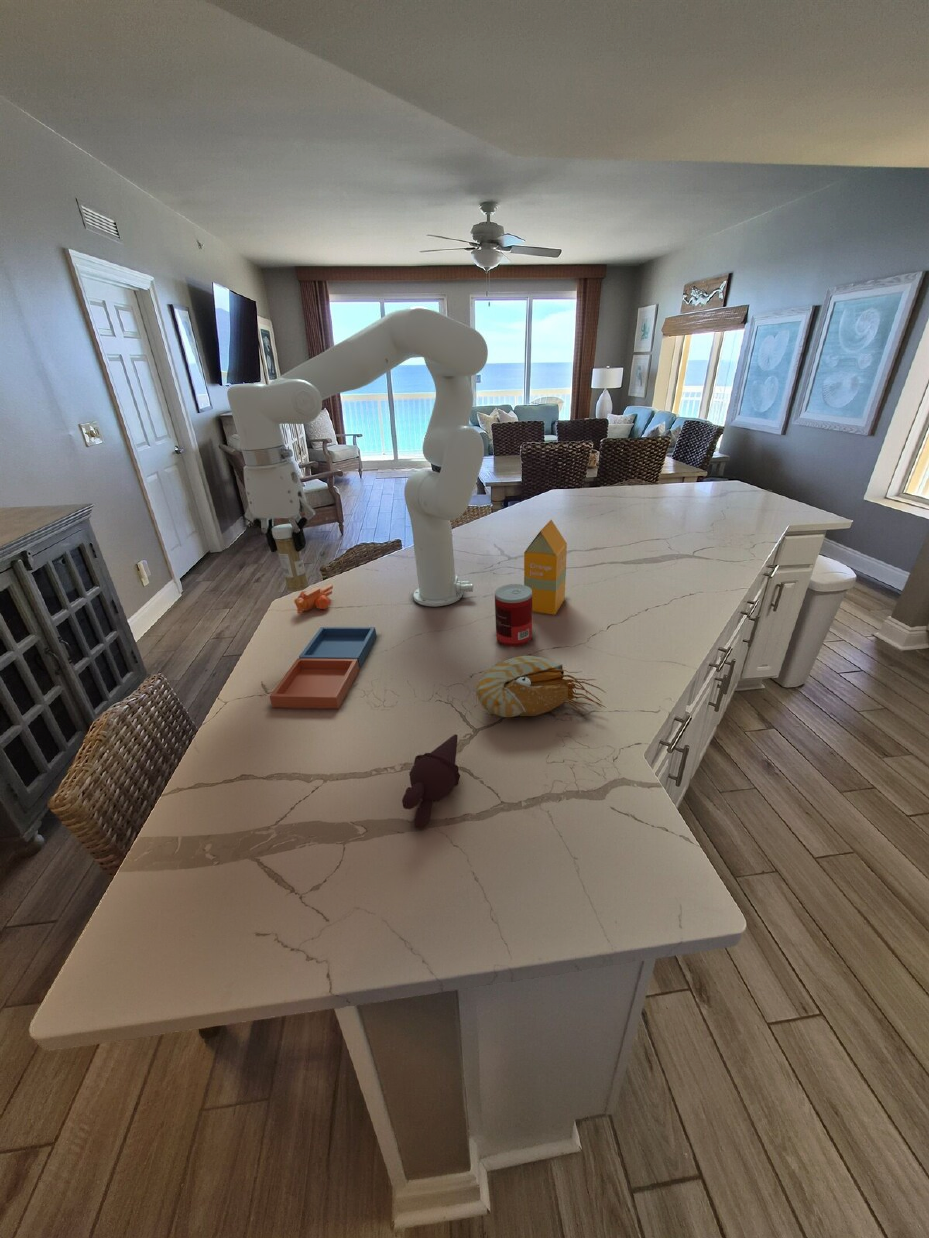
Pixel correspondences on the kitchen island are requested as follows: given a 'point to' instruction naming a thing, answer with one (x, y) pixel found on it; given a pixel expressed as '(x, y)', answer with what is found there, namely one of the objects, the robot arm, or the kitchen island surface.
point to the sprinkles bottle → (290, 558)
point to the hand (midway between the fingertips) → (288, 548)
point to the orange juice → (546, 569)
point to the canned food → (513, 614)
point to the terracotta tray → (315, 683)
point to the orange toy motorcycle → (314, 598)
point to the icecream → (432, 780)
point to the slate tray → (341, 643)
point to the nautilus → (528, 687)
